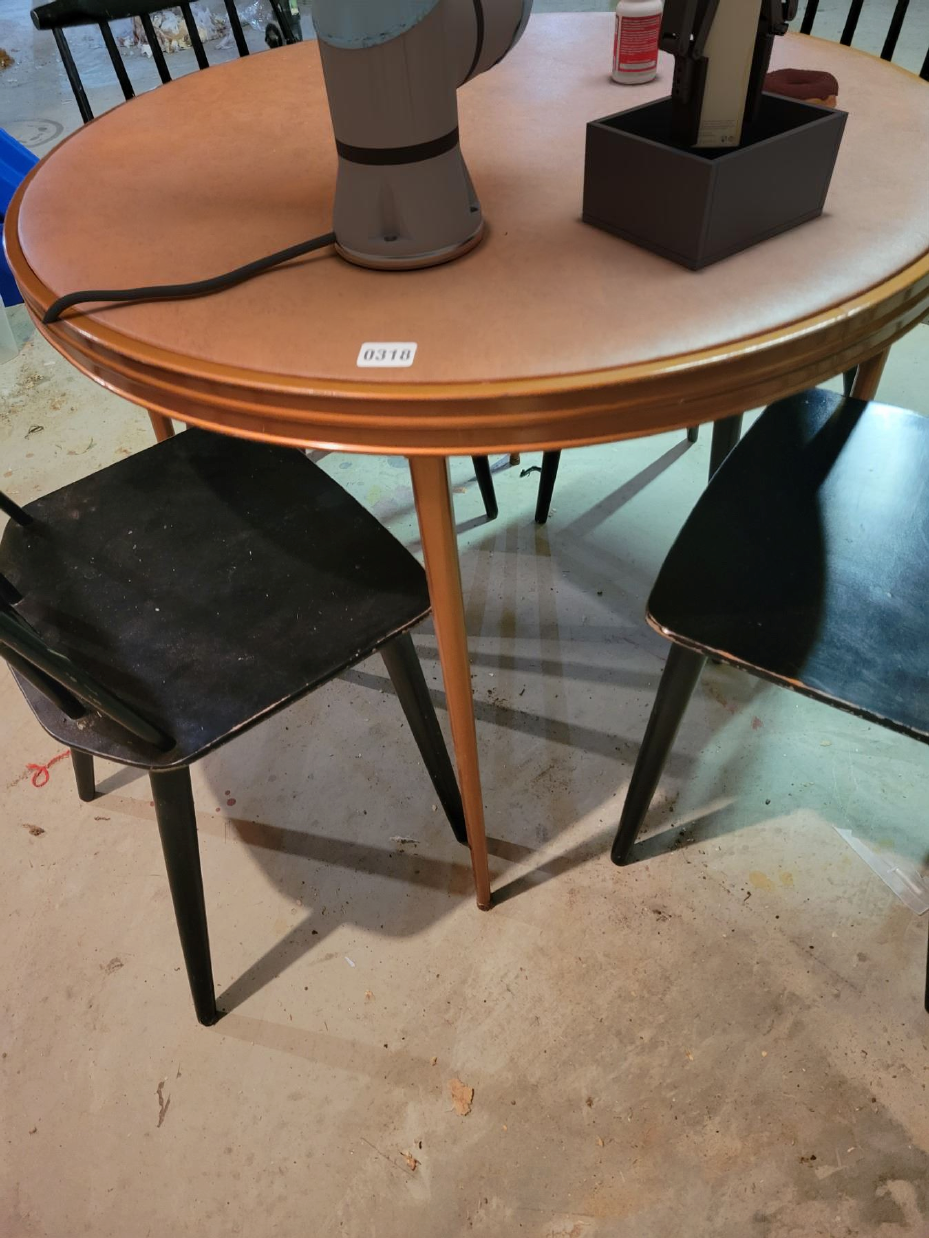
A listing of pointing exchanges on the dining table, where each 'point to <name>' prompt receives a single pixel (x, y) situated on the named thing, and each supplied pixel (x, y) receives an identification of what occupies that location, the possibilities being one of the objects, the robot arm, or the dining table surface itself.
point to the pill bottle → (636, 40)
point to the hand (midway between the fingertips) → (713, 130)
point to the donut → (803, 85)
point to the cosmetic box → (727, 72)
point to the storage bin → (709, 178)
